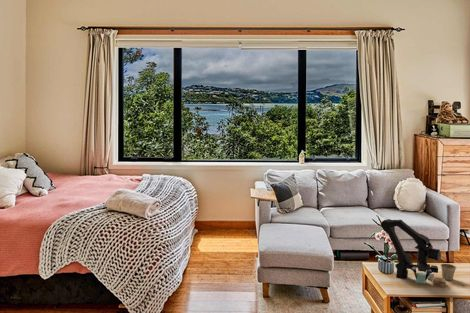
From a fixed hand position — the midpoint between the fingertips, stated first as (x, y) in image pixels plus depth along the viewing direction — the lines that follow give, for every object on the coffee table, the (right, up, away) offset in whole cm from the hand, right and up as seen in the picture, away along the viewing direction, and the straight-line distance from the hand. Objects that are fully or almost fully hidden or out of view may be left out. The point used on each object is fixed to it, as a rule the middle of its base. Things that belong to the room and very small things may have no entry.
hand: (420, 280), depth 275 cm
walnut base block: (+10, -2, -3) cm, 11 cm away
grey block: (+8, -1, +7) cm, 11 cm away
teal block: (0, -1, 0) cm, 1 cm away
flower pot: (+20, -1, +6) cm, 21 cm away
